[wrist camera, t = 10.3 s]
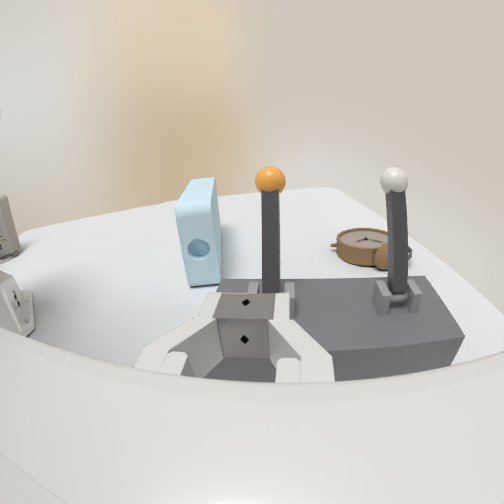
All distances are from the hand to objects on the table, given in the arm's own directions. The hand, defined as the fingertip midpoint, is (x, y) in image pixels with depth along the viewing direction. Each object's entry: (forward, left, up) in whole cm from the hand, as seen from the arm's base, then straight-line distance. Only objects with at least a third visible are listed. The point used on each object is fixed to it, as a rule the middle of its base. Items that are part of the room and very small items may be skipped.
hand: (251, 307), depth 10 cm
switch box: (-5, +11, -16) cm, 20 cm away
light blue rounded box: (-38, +13, -16) cm, 43 cm away
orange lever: (-8, +7, -7) cm, 13 cm away
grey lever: (-1, +15, -7) cm, 17 cm away
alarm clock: (-17, +37, -17) cm, 44 cm away
